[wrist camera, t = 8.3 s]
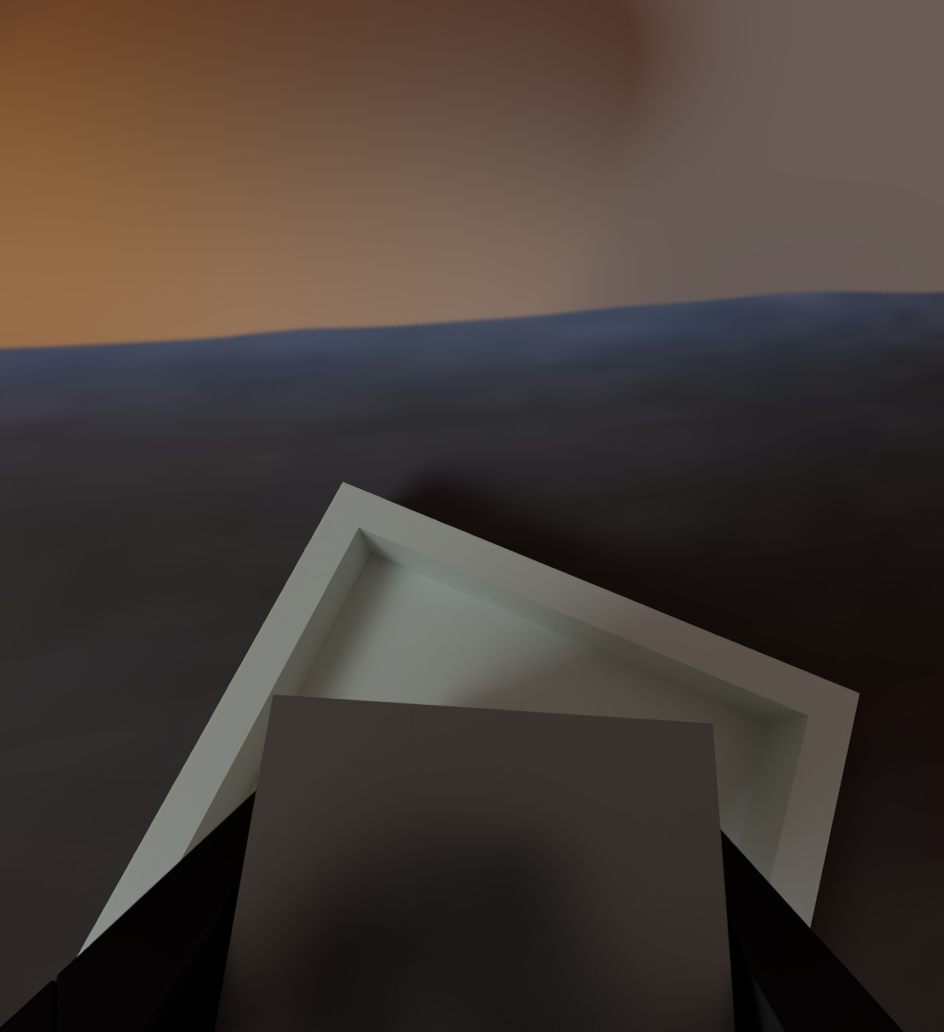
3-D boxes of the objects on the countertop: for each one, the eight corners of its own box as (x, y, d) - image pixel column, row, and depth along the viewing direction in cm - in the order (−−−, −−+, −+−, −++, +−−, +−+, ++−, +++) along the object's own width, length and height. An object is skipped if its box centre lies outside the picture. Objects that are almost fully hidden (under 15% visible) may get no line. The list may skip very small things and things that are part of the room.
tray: (648, 1338, 14) (693, 1482, 11) (96, 1015, 16) (15, 1066, 13) (801, 705, 18) (859, 693, 16) (360, 522, 21) (342, 482, 18)
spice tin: (584, 1006, 14) (759, 1349, 5) (349, 988, 14) (168, 1295, 6) (584, 755, 16) (713, 723, 7) (377, 741, 16) (273, 694, 7)
